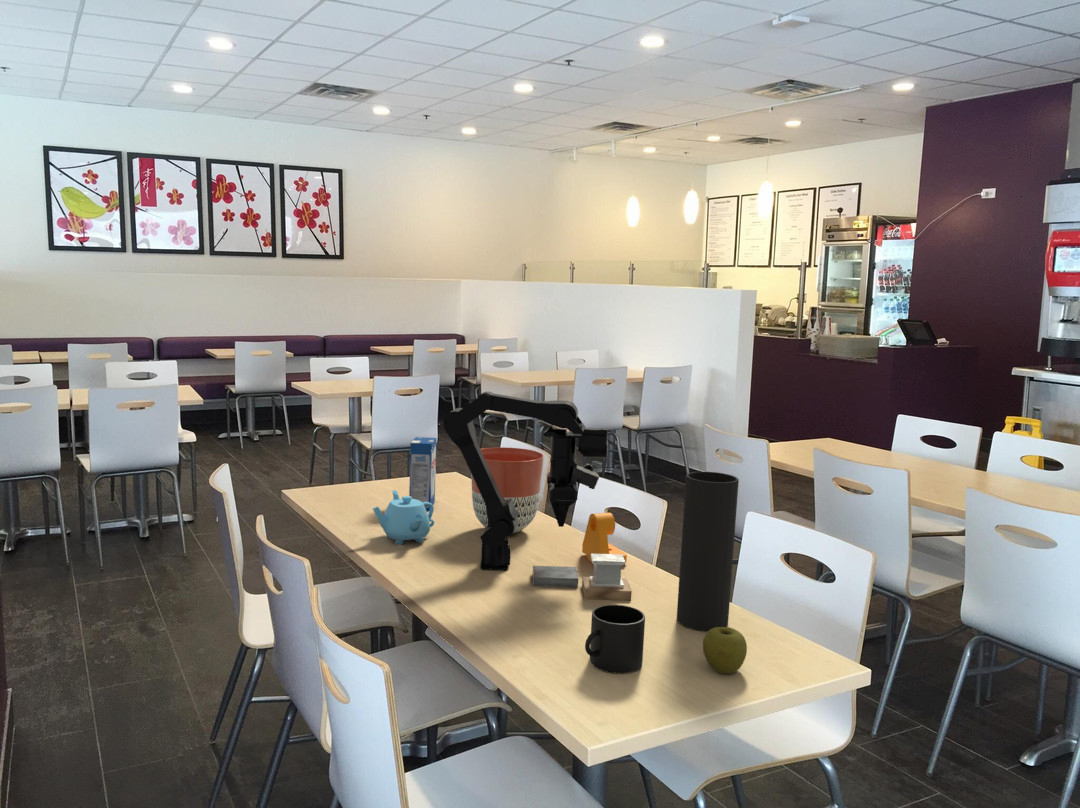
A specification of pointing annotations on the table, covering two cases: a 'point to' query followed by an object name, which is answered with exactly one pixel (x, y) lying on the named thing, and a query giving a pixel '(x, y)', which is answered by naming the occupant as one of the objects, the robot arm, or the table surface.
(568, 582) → the stand
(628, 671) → the mug
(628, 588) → the stand
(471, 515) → the table surface
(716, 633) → the apple
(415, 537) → the teapot
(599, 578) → the block
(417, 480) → the milk carton
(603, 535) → the bracket
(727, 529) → the vase
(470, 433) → the robot arm
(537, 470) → the planter
